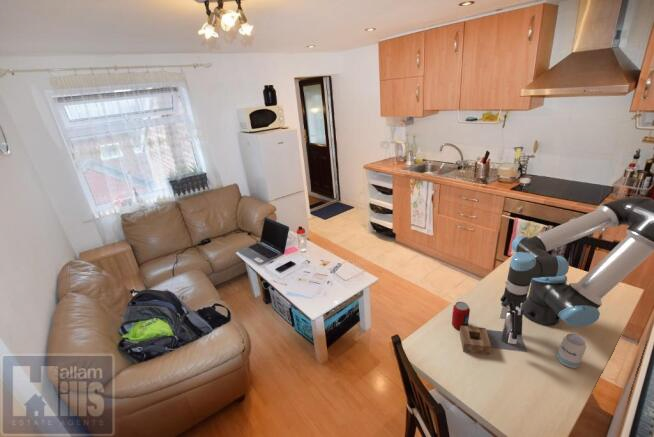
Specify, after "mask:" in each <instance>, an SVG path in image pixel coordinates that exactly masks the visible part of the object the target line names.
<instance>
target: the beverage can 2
mask: <svg viewBox="0 0 654 437" xmlns="http://www.w3.org/2000/svg"><path fill="white" fill-rule="evenodd" d="M562 337H563V338H562V340H561V344H560V346H559V349H558V352H557V355H556V357H557V360H558V361H559V363H561V364H563V365H564V366H566V367H568V368H572V369H573V368H578V367H580V365H581V362H582V360H583V357H584V354H585V352H586V348H587V344H586V340H585V339H584V338H583V337H582V336H580V335H579V334H576V333H568V334H566V335H565V336H562Z"/></svg>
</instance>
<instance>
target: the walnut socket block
mask: <svg viewBox="0 0 654 437" xmlns="http://www.w3.org/2000/svg"><path fill="white" fill-rule="evenodd" d="M486 330H487V328H486V327H478V326H469V325H468V326H460V330H459V337H460V342H461V348H462V352H463V353H469V354H470V353H471V354H479V355H486V356H490V355H491V354H490V353H491V349H492V348H491V345H490V341H489V338H488V334H487V331H486Z"/></svg>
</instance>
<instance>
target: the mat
mask: <svg viewBox="0 0 654 437" xmlns="http://www.w3.org/2000/svg"><path fill="white" fill-rule="evenodd" d="M486 331H487V334H488V338H489V341H490V345H491V349H499V350H506V351H507V350H508V351H516V352H524V353H529V351H528V349H527V347H526V344H525V342H524V338H523V337H522V336H520V335H518V338H517V342H516V344H512V343H504V342H502V340H501V337H502V332H503V330H502V331H501V330H492V329H486Z"/></svg>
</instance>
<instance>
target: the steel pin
mask: <svg viewBox="0 0 654 437" xmlns="http://www.w3.org/2000/svg"><path fill="white" fill-rule="evenodd" d="M512 312H514V311H512ZM503 323H504V324H503V328H502V331H503V332H502V337H501V340H502V342H504V343H508V339H509V335H510V330H512V323H511V314H510V311H509V310H508V311H507V313H506V318H505V319H504V322H503Z"/></svg>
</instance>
